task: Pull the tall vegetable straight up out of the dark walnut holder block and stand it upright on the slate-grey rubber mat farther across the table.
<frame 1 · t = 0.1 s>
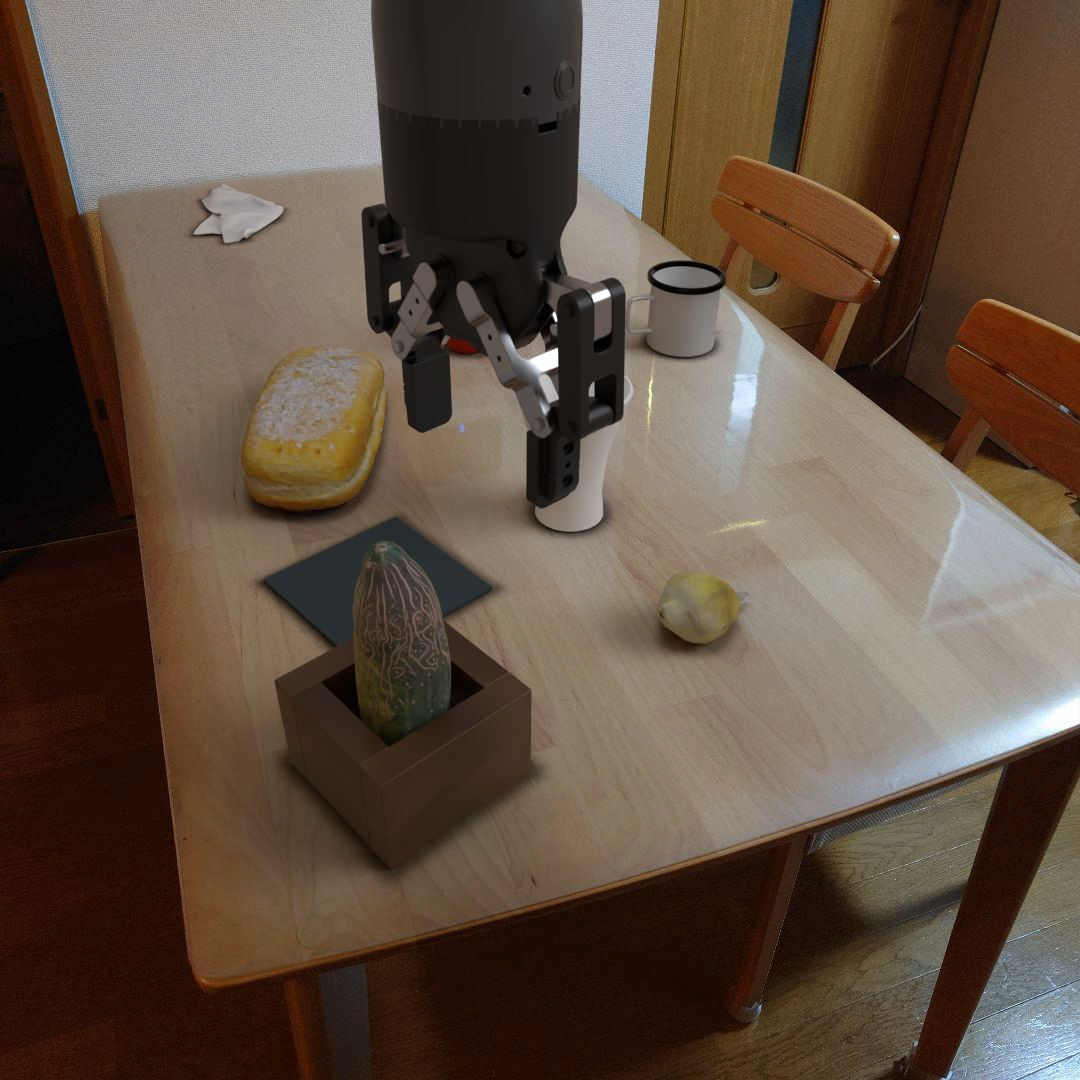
hand: (487, 460, 47), 30 cm above the table, tool pointing down, fingers open, 8 cm apart
cup: (568, 514, 96), on the table
fruit: (702, 626, 83), on the table
apple: (471, 348, 125), on the table
cloth: (240, 215, 163), on the table
donut: (504, 261, 148), on the table
bread: (320, 452, 105), on the table
mug: (670, 346, 126), on the table
vegetable: (410, 768, 71), resting in holder
holder: (410, 766, 71), on the table
mat: (377, 586, 87), on the table
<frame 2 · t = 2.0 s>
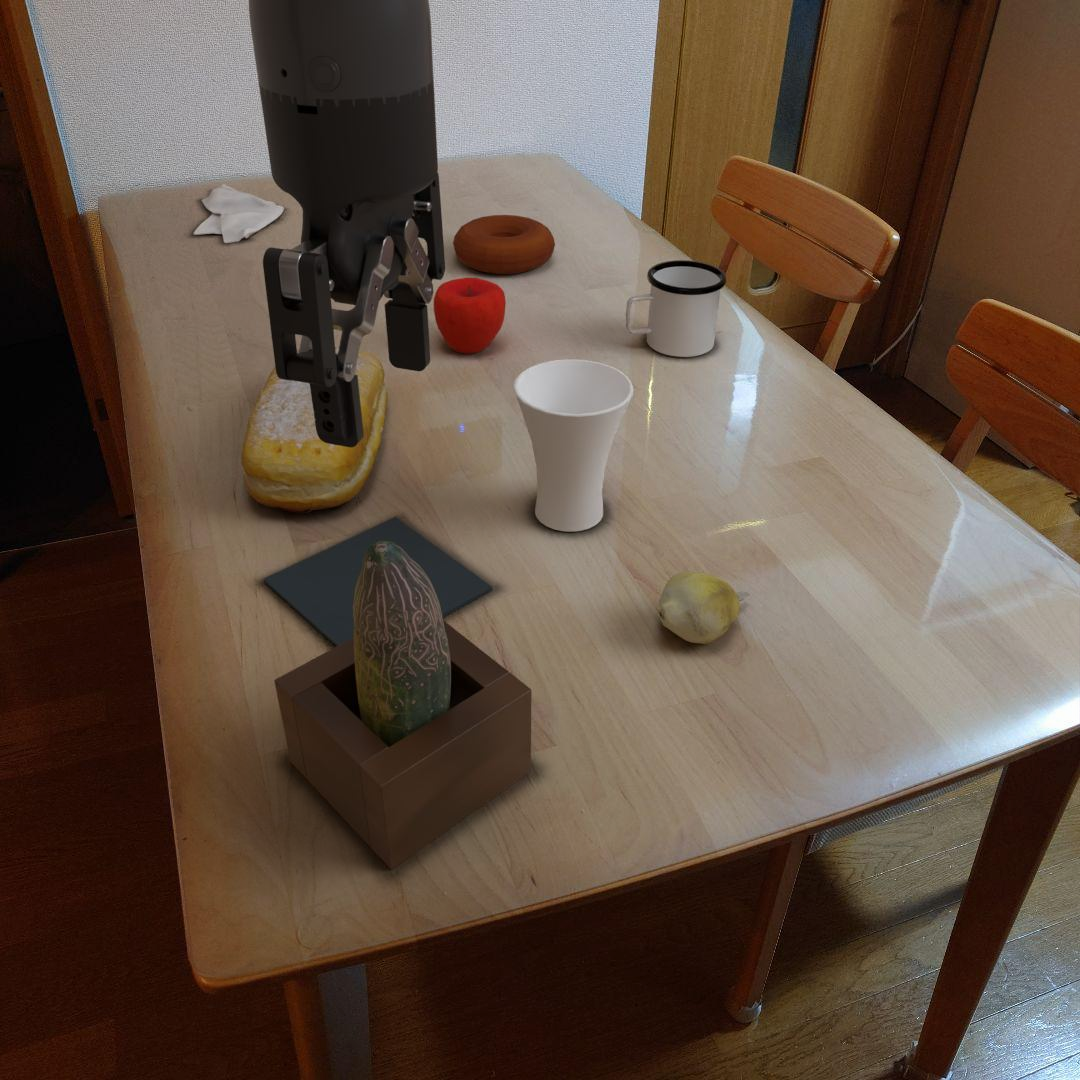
hand: (377, 402, 53), 29 cm above the table, tool pointing down, fingers open, 8 cm apart
nothing on the table moved.
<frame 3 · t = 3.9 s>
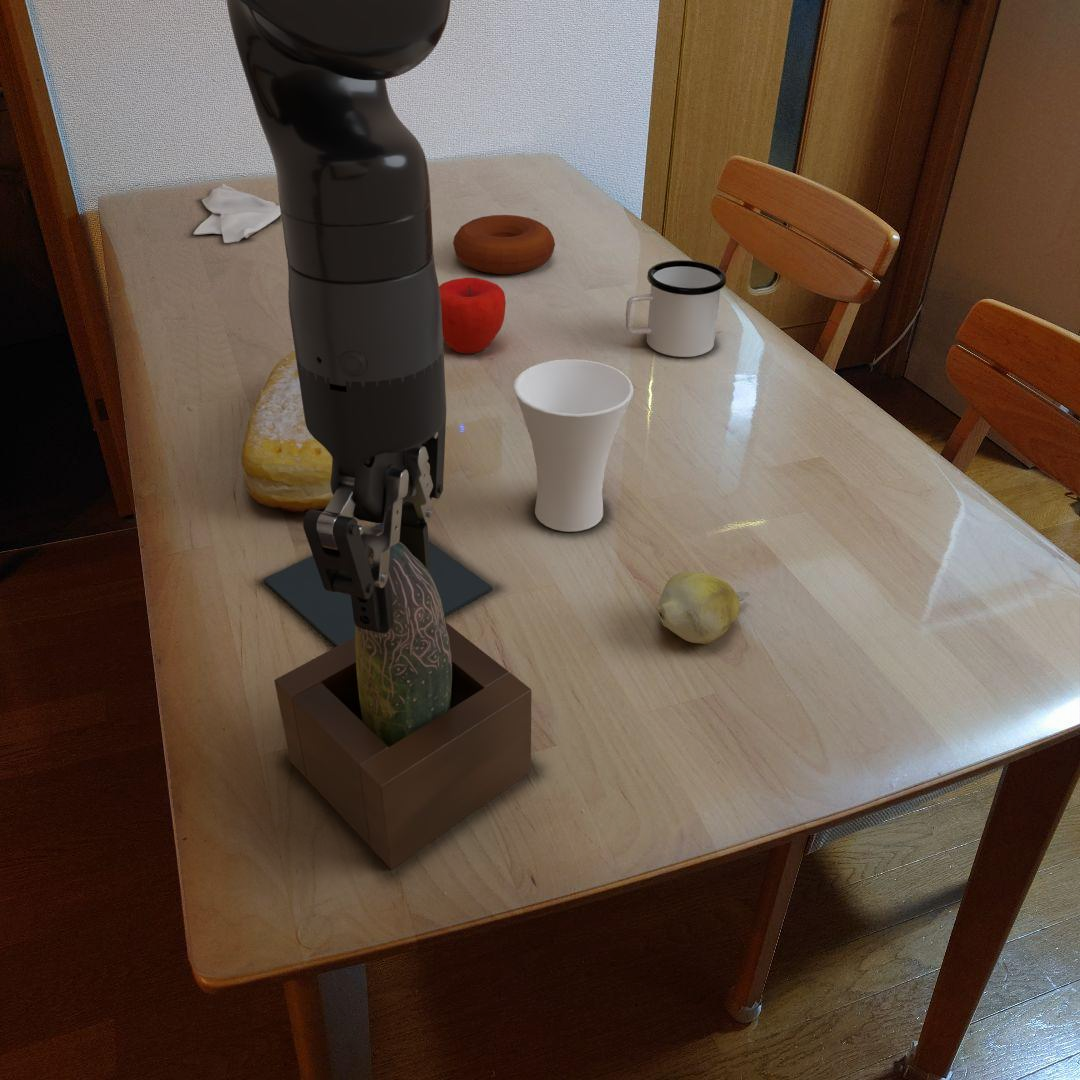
hand: (393, 597, 62), 15 cm above the table, tool pointing down, fingers closed on vegetable, 5 cm apart
vegetable: (410, 768, 71), resting in holder, touching gripper
everything else where it was.
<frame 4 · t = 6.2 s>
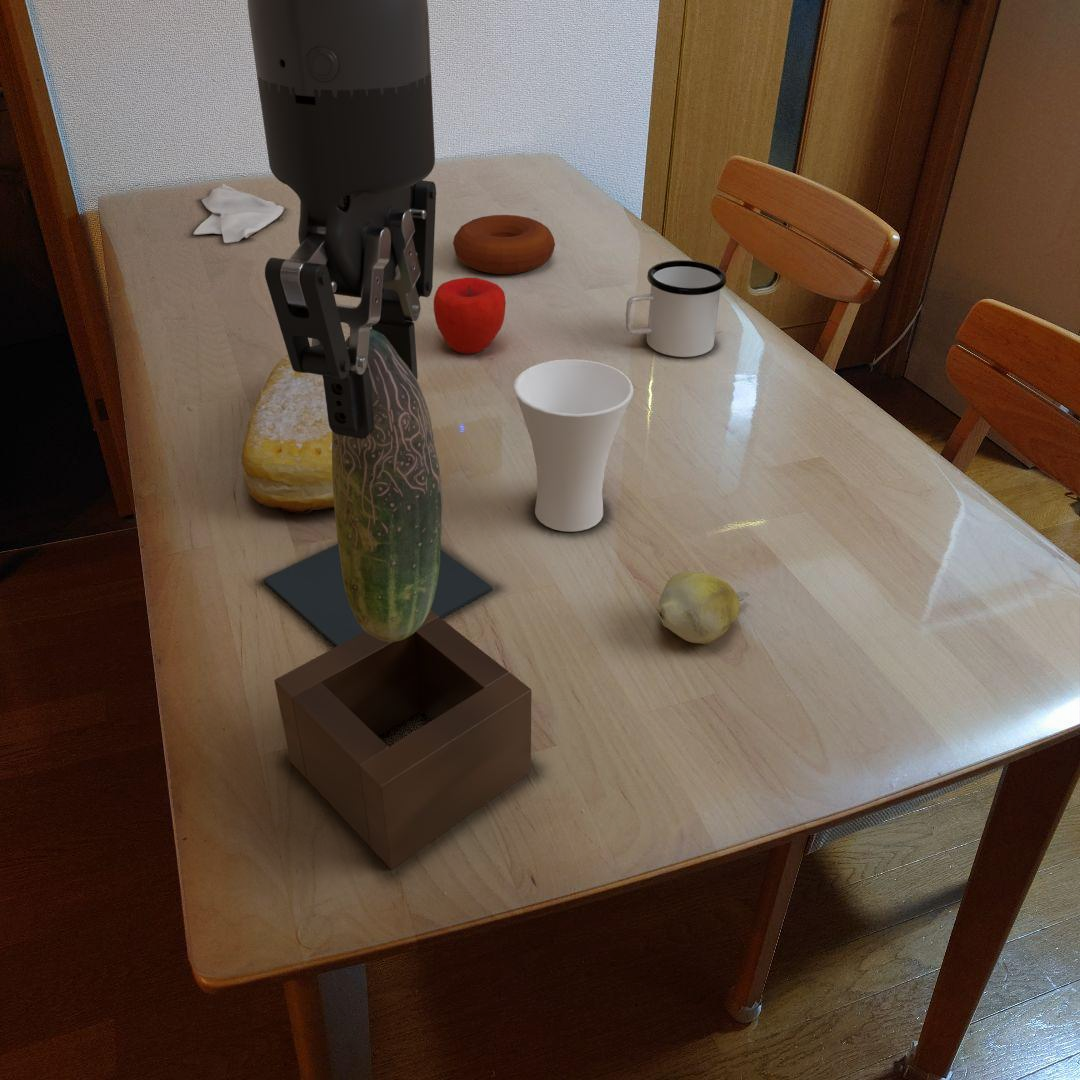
hand: (375, 406, 54), 29 cm above the table, tool pointing down, fingers closed on vegetable, 5 cm apart
vegetable: (395, 627, 63), point 13 cm above the table, touching gripper
everything else where it was.
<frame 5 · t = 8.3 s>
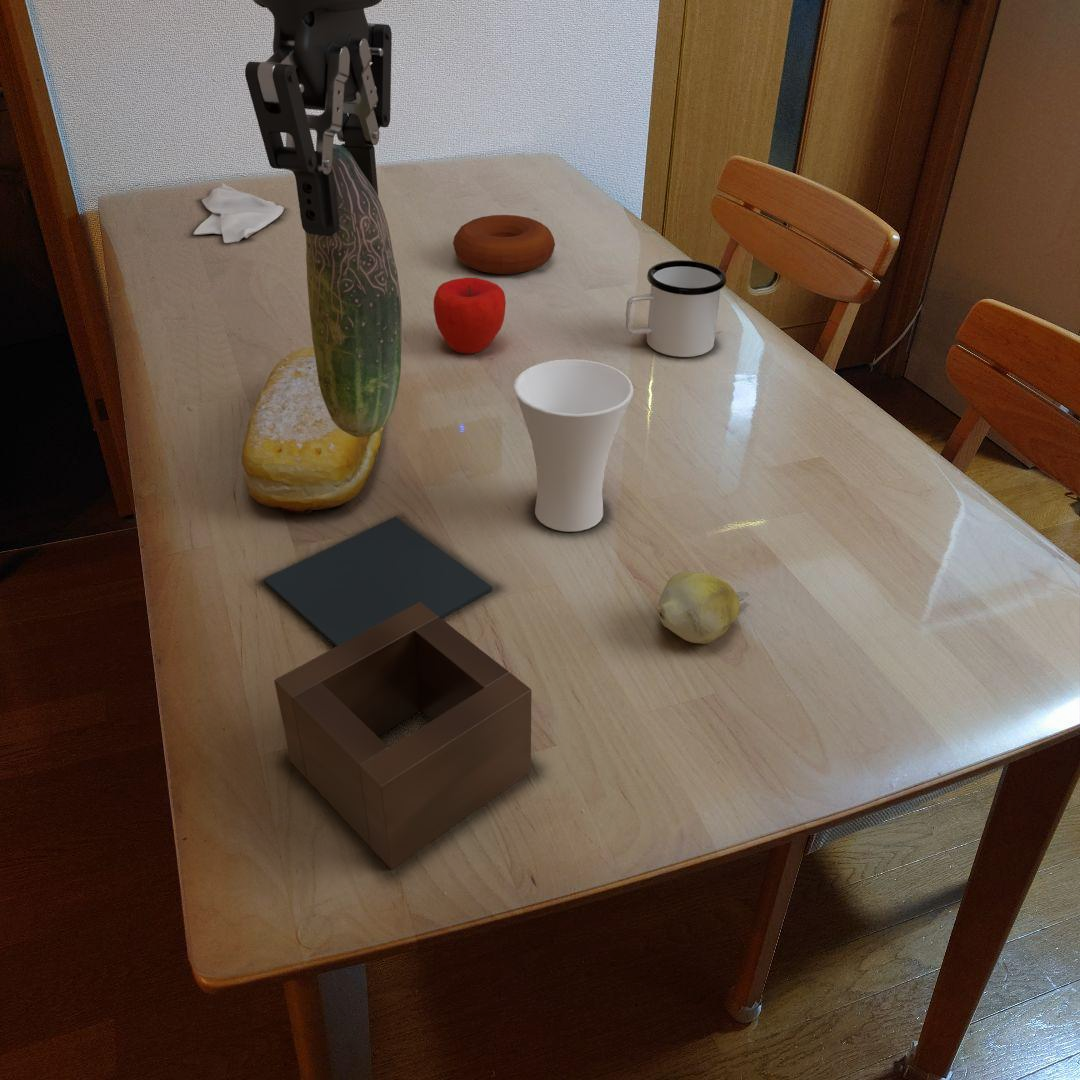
hand: (341, 217, 64), 33 cm above the table, tool pointing down, fingers closed on vegetable, 5 cm apart
vegetable: (365, 429, 74), point 18 cm above the table, touching gripper
everything else where it was.
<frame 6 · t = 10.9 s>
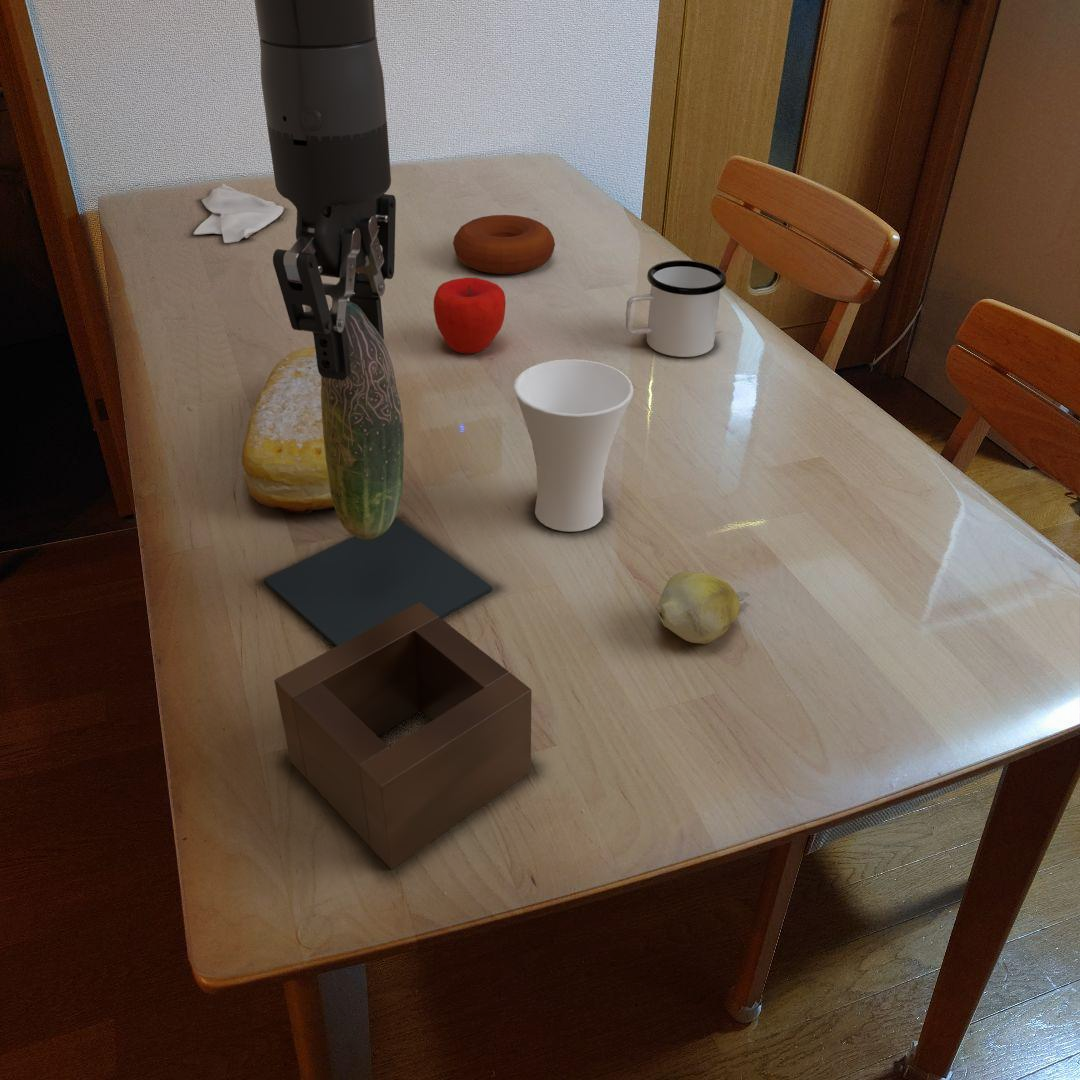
hand: (352, 358, 74), 22 cm above the table, tool pointing down, fingers closed on vegetable, 5 cm apart
vegetable: (371, 531, 83), point 6 cm above the table, touching gripper
everything else where it was.
when the fingers open (16 cm above the table, at t = 12.8 s): vegetable stays where it is, resting on mat.
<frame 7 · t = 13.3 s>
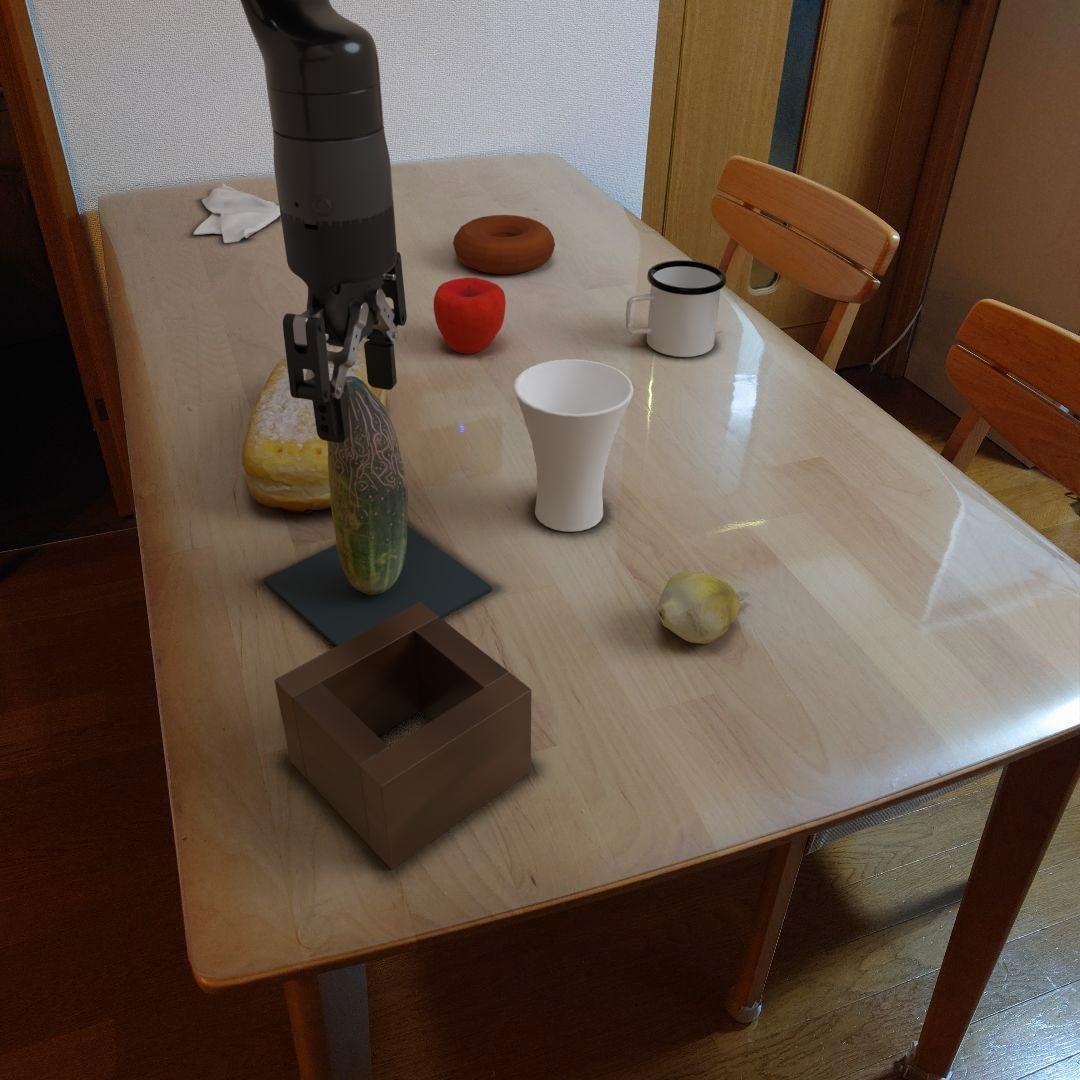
hand: (359, 412, 77), 17 cm above the table, tool pointing down, fingers open, 8 cm apart
vegetable: (376, 585, 87), resting on mat
everything else where it was.
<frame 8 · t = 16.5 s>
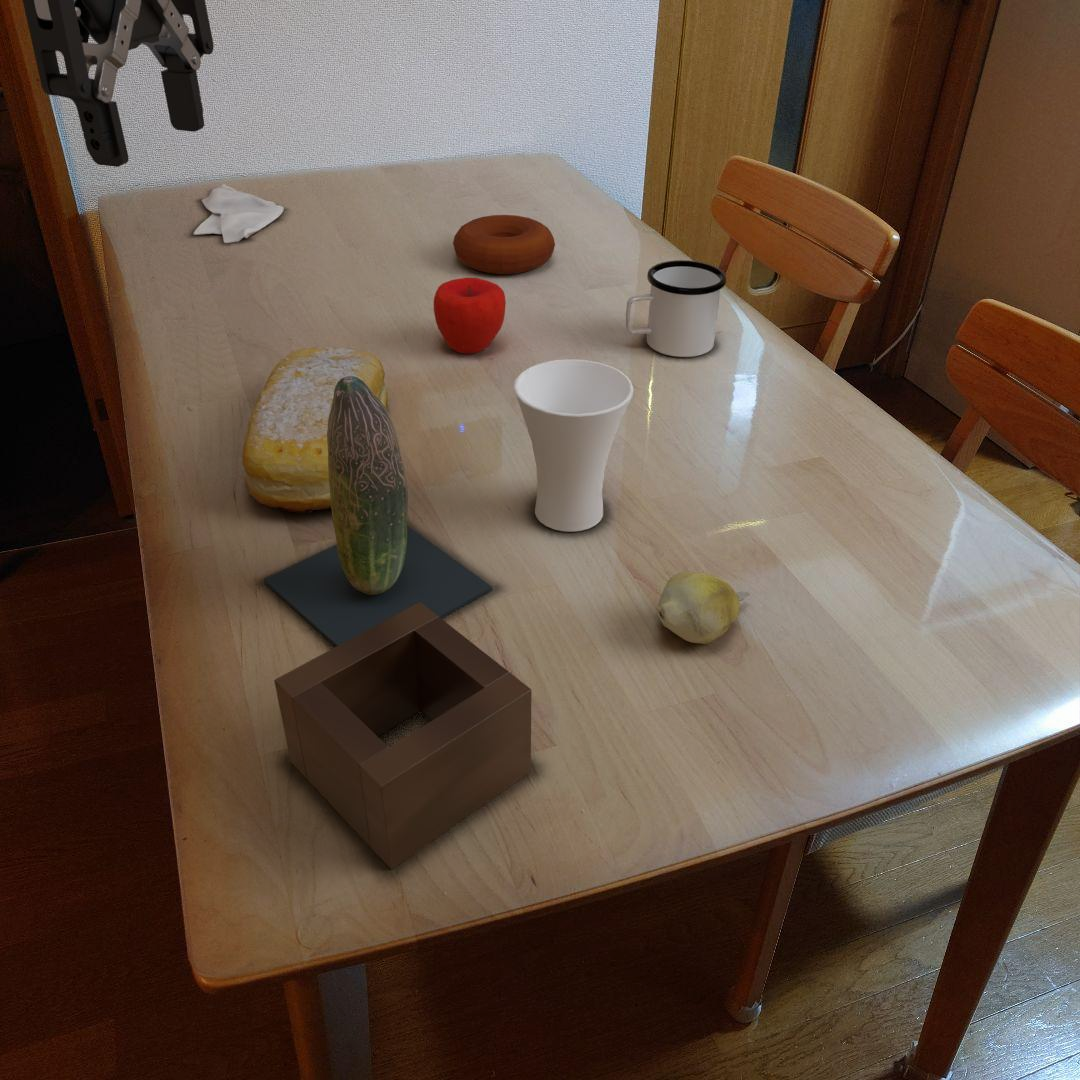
hand: (151, 146, 66), 36 cm above the table, tool pointing down, fingers open, 8 cm apart
nothing on the table moved.
at the end: vegetable inside the target area on the mat (0.1 cm from its centre), point 0.2 cm above the mat's base; vegetable tilted 0°; vegetable touching mat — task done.
